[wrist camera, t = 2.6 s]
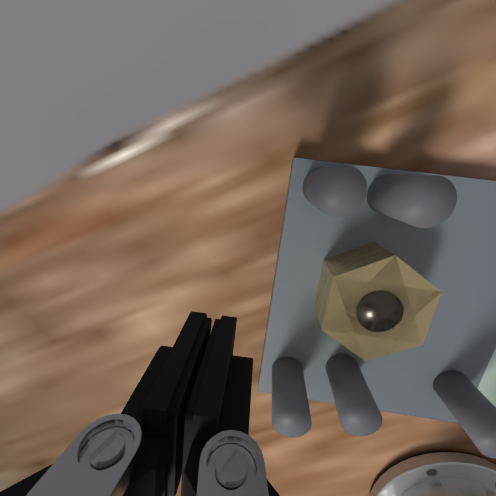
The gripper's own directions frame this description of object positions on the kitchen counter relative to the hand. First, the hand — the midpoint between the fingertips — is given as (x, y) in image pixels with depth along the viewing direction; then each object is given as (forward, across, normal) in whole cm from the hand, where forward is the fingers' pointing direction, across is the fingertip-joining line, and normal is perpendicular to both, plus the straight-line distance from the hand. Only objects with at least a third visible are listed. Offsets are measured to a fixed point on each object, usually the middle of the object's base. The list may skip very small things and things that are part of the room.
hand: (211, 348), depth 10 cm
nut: (+9, -9, +1) cm, 13 cm away
